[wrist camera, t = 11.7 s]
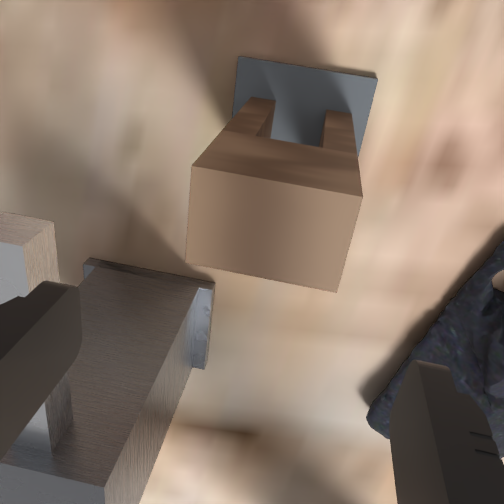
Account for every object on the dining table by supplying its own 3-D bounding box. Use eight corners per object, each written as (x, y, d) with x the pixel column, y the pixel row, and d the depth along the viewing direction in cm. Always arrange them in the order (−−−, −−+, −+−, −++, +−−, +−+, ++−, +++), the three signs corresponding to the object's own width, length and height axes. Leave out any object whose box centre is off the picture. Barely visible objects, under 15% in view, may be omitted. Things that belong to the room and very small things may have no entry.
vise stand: (230, 140, 29) (123, 285, 14) (207, 361, 39) (127, 584, 24) (-7, 98, 30) (-329, 193, 16) (27, 322, 40) (-154, 512, 25)
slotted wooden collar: (351, 113, 27) (362, 197, 16) (336, 177, 29) (336, 292, 18) (251, 96, 27) (191, 165, 16) (243, 160, 29) (185, 262, 18)
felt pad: (377, 78, 26) (377, 79, 26) (345, 206, 30) (345, 208, 30) (239, 56, 27) (238, 57, 26) (225, 184, 31) (224, 186, 30)
